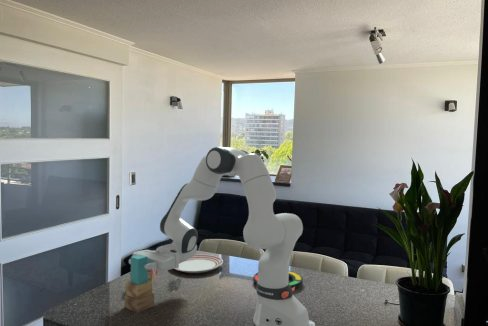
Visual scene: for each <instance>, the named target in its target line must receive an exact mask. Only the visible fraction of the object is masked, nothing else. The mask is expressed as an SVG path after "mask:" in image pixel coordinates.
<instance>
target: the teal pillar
mask: <svg viewBox="0 0 488 326" xmlns="http://www.w3.org/2000/svg"><path fill="white" fill-rule="evenodd" d="M130 259H131V264H130V273H131V275H130V277H131V282H132V283H134V284H137V285H139V284H142V283H145V282H147V269H145V268H144V264H147V256H144V255H141V254H140V255H136V256H133V257H132V256H130Z"/></svg>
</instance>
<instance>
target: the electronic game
mask: <svg viewBox="0 0 488 326" xmlns="http://www.w3.org/2000/svg"><path fill="white" fill-rule="evenodd" d="M252 278H253V279H252V280H253V283H254V284H255V285H257V282H258V272H256V273H254V274H253V277H252ZM288 280H289V281H288V282H289V284H290V287H291V289H292V288H293V287H295V288H294V289H297V288H298V287H300V286H301V285H302V284H303V282H304V280H303V277H302V276H301V274H299V273H297V272H294V271H292V270H289V279H288ZM290 280H291V281H290Z"/></svg>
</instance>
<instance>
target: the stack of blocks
mask: <svg viewBox="0 0 488 326" xmlns="http://www.w3.org/2000/svg"><path fill="white" fill-rule="evenodd" d="M153 251H154V252H155V251H156V250H153ZM159 271H160V269H157V268H151V269H147V280H150V281H152V284H153V283H154V282H155V279H156V276H157V275H158V272H159Z"/></svg>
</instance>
